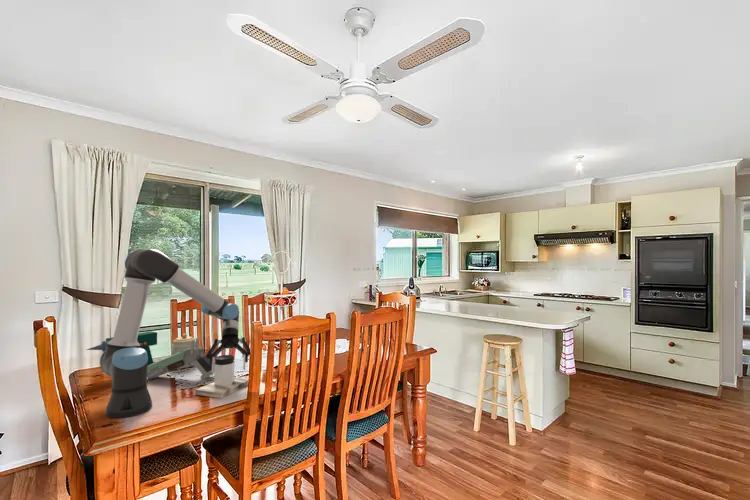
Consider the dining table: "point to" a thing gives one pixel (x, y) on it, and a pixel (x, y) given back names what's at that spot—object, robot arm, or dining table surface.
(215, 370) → the jar
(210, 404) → the dining table surface
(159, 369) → the ray gun
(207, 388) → the board
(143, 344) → the power tool
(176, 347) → the jar
